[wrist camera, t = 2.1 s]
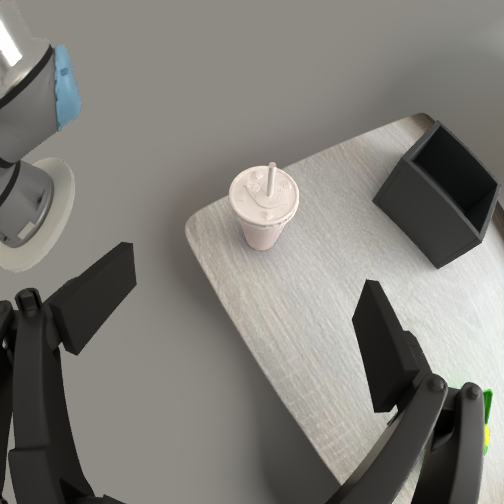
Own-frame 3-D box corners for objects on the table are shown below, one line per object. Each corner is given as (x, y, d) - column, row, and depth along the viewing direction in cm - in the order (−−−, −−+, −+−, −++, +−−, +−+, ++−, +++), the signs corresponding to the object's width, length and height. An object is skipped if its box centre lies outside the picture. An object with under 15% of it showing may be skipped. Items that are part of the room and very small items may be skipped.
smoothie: (271, 271, 32) (284, 212, 18) (224, 245, 33) (206, 174, 20) (296, 228, 34) (320, 153, 20) (251, 204, 35) (251, 123, 22)
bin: (372, 200, 35) (401, 157, 26) (412, 158, 38) (437, 119, 29) (437, 269, 31) (481, 242, 22) (467, 215, 35) (501, 185, 25)
